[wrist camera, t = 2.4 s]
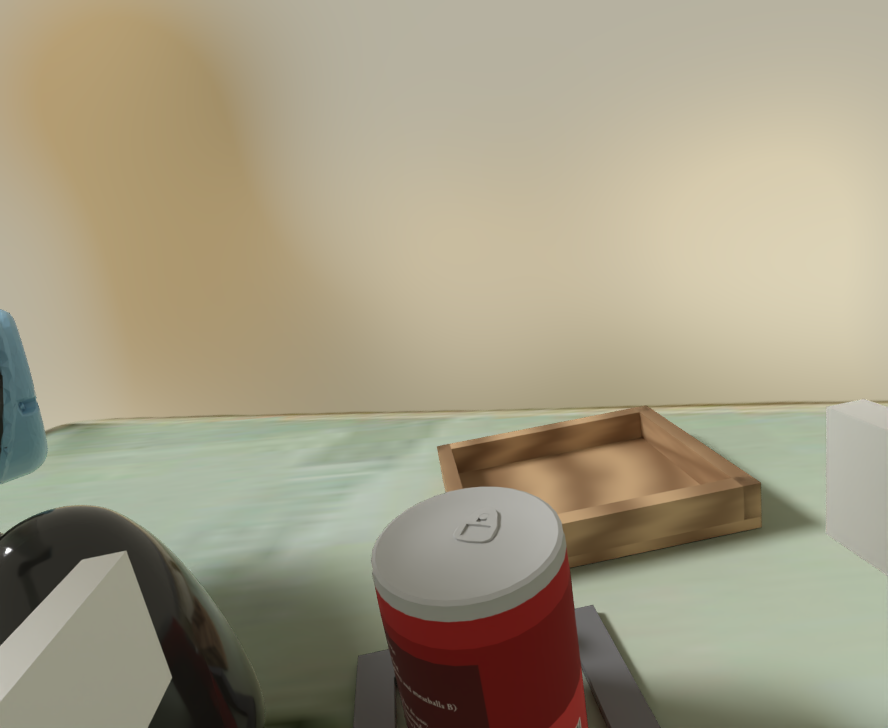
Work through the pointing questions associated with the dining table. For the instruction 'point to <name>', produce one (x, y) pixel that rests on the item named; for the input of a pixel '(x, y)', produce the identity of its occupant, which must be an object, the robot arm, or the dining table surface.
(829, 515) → the robot arm
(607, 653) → the frame
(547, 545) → the canned food
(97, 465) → the dining table surface
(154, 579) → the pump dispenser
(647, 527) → the tray
